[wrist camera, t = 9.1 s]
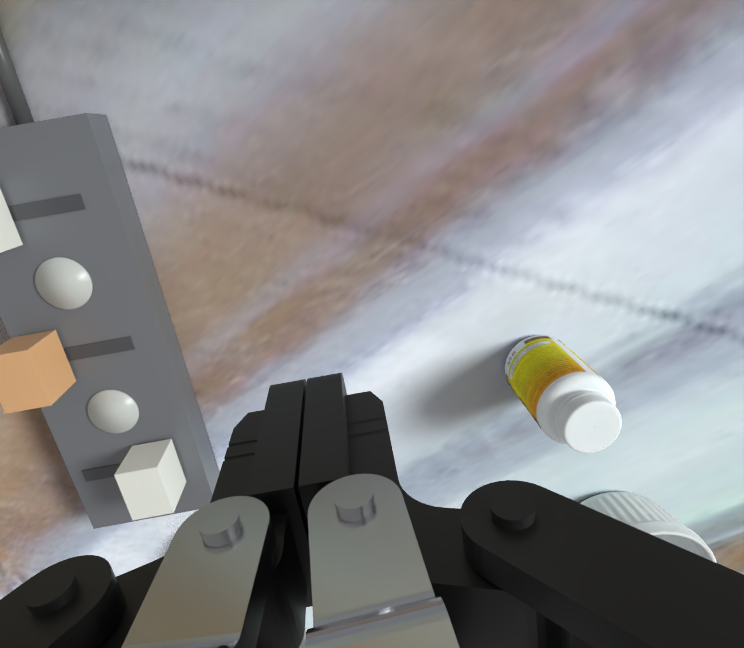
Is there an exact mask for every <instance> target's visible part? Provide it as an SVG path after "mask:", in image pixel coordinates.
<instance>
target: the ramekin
mask: <svg viewBox="0 0 744 648" xmlns="http://www.w3.org/2000/svg"><path fill="white" fill-rule="evenodd" d="M580 504H582V505H585V506H587V507H589V508H592V509H594V510H596V511H598V512H601V513H603V514H605V515H608V516H610V517H612V518H614V519H617V520H619V521H621V522H624V523H626V524H628V525H630V526H633V527H635V528H637V529H640V530H642V531H644V532H647V533H649V534H651V535H653V536H656V537H658V538H660V539H663V540H665V541H667V542H669V543H672V544H674V545H676V546H679V547H681V548H683V549H685V550H688V551H690V552H692V553H695V554H697V555H699V556H702V557H704V558H706V559H708V560H711V561H713V562H715V563H717V562H716V559H715V557H714V555H713V553H712V551H711V550H710V548H709V547H708V546H707V545H706V544H705V542H704V541H703V540H702V539H701V538H700V537H699V536H698V535H697V534H696V533H694V532H693V531H692V530H690V529H688V528H687V527H685V526H684V525H682V524H681V523H680V522H679V521H678V520H677V519H676V518H674V517H673V516H672V515H671V514H670V513H668V512H667V511H666V510H665V509H664V508H662V507H661V506H660V505H659V504H657V503H656V502H654V501H652V500H651V499H649V498H647V497H644V496H642V495H639V494H635V493H629V492H607V493H602V494H598V495H595V496H593V497H590V498H588V499H586V500H584V501H582V502H580Z"/></svg>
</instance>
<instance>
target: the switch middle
mask: <svg viewBox="0 0 744 648" xmlns="http://www.w3.org/2000/svg"><path fill="white" fill-rule="evenodd" d="M75 382H76V379H75V376H74V374H73V372H72V369H71V367H70V364H69V362H68V359H67V357H66V354H65V352H64V349H63V347H62V344H61V342H60V339H59V337H58V335H57V332H56V330H51V331H46V332H40V333H34V334H29V335H23V336H17V337H12V338H11V339H9V340H7V341H6V342H4V343H3V344H1V345H0V403H1V405H2V407H3V409H4V412H5V414H7V413H12V412H18V411H23V410H29V409H35V408H40V407H46V406H51V405H52V404H53V403H54V402H55V401H56V400H57V399H58V398H59V397H60V396H62V395H63V394H64V393H65V392H66V391H67V390H68V389H69V388H70V387H71V386H72V385H73V384H74V383H75Z"/></svg>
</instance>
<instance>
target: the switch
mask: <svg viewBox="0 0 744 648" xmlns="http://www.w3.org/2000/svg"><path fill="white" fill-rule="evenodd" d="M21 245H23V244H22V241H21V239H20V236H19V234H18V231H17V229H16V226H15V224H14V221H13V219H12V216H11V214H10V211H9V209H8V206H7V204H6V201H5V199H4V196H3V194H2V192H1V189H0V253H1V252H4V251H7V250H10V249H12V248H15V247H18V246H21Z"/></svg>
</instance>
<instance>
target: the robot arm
mask: <svg viewBox="0 0 744 648" xmlns="http://www.w3.org/2000/svg"><path fill="white" fill-rule="evenodd" d="M310 606H313V628H310V629H308V630H307V632H306V640H305V636H304V631H305V614H306V607H310ZM0 648H744V575H743V574H740V573H738V572H736V571H734V570H731V569H729V568H727V567H724V566H722V565H720V564H718V563H715V562H713V561H711V560H708V559H706V558H704V557H702V556H699V555H697V554H695V553H692V552H690V551H688V550H685V549H683V548H681V547H679V546H676V545H674V544H672V543H669V542H667V541H665V540H663V539H660V538H658V537H656V536H653V535H651V534H649V533H647V532H644V531H642V530H640V529H637V528H635V527H633V526H630V525H628V524H626V523H624V522H621V521H619V520H617V519H614V518H612V517H610V516H608V515H605V514H603V513H601V512H598V511H596V510H594V509H592V508H589V507H587V506H585V505H582V504H580V503H578V502H575V501H573V500H571V499H569V498H566V497H564V496H562V495H559V494H557V493H555V492H553V491H550V490H548V489H546V488H543V487H541V486H538V485H536V484H533V483H528V482H524V481H510V480H507V481H498V482H493V483H490V484H487V485H484V486H482V487H480V488H478V489H476V490H475V491H473V492H472V493H471V494H470V495H469V496H468V497H467V498H466V499H465V501H464V503H463V504H462V507H461V509H455V508H442V507H434V506H430V505H426V504H424V503H421V502H419V501H417V500H415V499H413V498H412V497H410V496H409V495H408V494H407V493H406V492H405V491H404V490H403V489H402V487H401V485H400V483H399V480H398V476H397V471H396V466H395V461H394V456H393V451H392V446H391V441H390V436H389V431H388V426H387V421H386V416H385V411H384V406H383V402H382V401H381V400H380V399H379V398H378V397H377V396H375V395H374V394H373V393H372V392H371V391H368V392H362V393H357V394H351V395H347V393H346V388H345V383H344V378H343V375H342V373H337V374H332V375H326V376H320V377H315V378H309V379H307V381H306V380H305V379H304V380H298V381H293V382H287V383H281V384H276V385H271V386H270V388H269V392H268V397H267V401H266V405H265V410H262V411H256V412H250V413H248V414H247V415H246V416H245V417H244V418H243V419H242V420H241V421H240V422H239V423H238V424H237V425H236V427H235V428H234V429H233V433H232V436H231V439H230V442H229V448H227V451H226V455H225V461H223V464H222V467H221V470H220V473H219V477H218V480H217V483H216V486H215V489H214V492H213V495H212V499H211V502H210V504H208V505H206V506H204V507H202V508H201V509H199V510H197V511H196V512H195V513H193V514H192V515H191V516H189V517H188V518H187V519H186V520H185V521H184V522H183V523H182V525H181V526H180V527H179V528H178V530H177V532H176V534H175V535H174V537H173V540H172V542H171V544H170V546H169V548H168V550H167V552H166V554H165V556H164V557H162V558H159V559H157V560H155V561H153V562H150V563H148V564H146V565H143V566H141V567H139V568H136V569H134V570H131V571H129V572H127V573H124V574H122V575H119V576H117V577H115V575H114V572H113V570H112V568H111V566H110V564H109V562H108V561H107V560H105V559H104V558H102V557H99V556H94V555H84V556H77V557H73V558H69V559H66V560H64V561H61V562H58V563H56V564H54V565H52V566H50V567H48V568H46V569H44V570H42V571H41V572H39V573H38V574H36V575H35V576H33V577H31V578H30V579H29V580H27V581H26V582H24V583H23V584H22V585H20V586H19V587H18V588H16V589H15V590H13V591H12V592H11V593H9V594H8V595H6V596H5V597H4V598H2V599H1V600H0Z"/></svg>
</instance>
